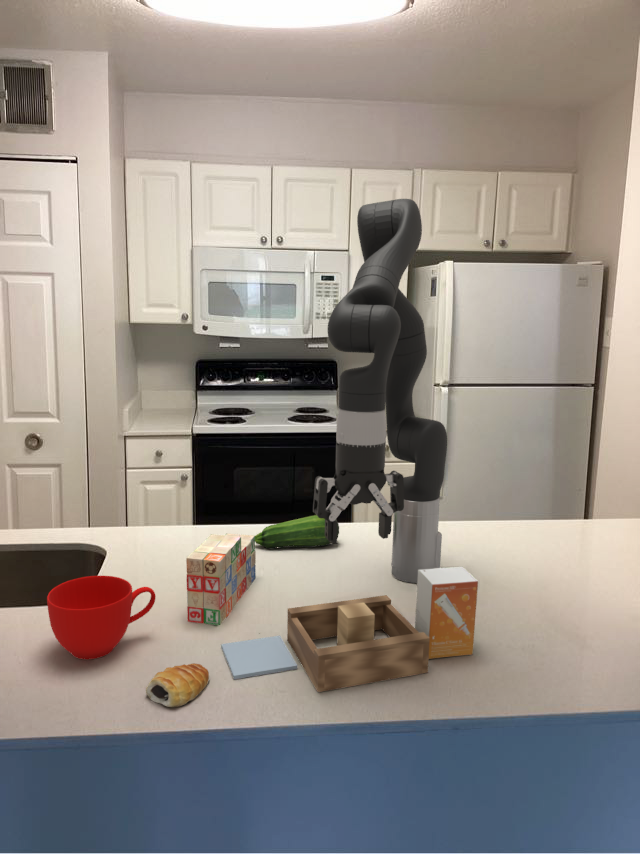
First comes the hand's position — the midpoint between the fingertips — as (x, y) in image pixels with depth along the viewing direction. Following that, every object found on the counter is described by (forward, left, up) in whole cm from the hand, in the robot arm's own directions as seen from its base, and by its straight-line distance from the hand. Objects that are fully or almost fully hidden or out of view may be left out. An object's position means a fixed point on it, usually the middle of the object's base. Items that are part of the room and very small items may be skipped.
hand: (357, 539), depth 107 cm
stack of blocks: (+16, -27, -20) cm, 37 cm away
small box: (-15, +2, -20) cm, 25 cm away
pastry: (+28, +2, -20) cm, 35 cm away
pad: (+15, -4, -20) cm, 25 cm away
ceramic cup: (+38, -15, -20) cm, 45 cm away
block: (0, 0, -20) cm, 20 cm away
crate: (0, 0, -20) cm, 20 cm away
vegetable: (-5, -50, -20) cm, 54 cm away
